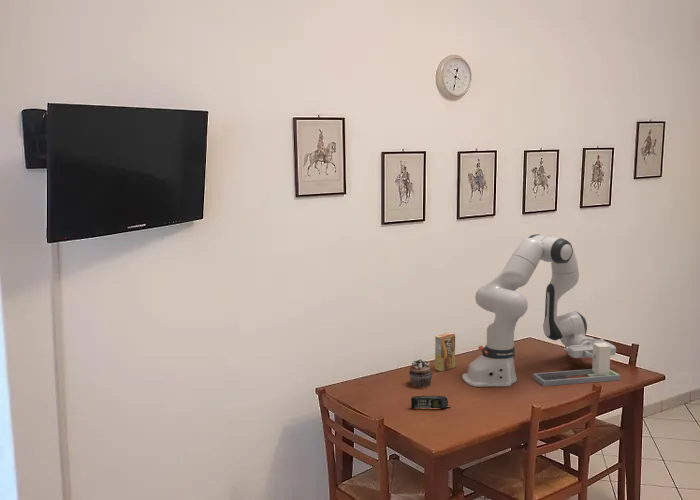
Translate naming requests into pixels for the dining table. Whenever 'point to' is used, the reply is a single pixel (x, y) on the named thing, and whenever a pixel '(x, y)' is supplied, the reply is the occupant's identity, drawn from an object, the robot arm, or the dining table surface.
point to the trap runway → (562, 379)
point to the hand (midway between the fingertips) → (601, 356)
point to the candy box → (444, 351)
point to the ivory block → (601, 358)
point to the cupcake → (420, 373)
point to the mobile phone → (429, 402)
